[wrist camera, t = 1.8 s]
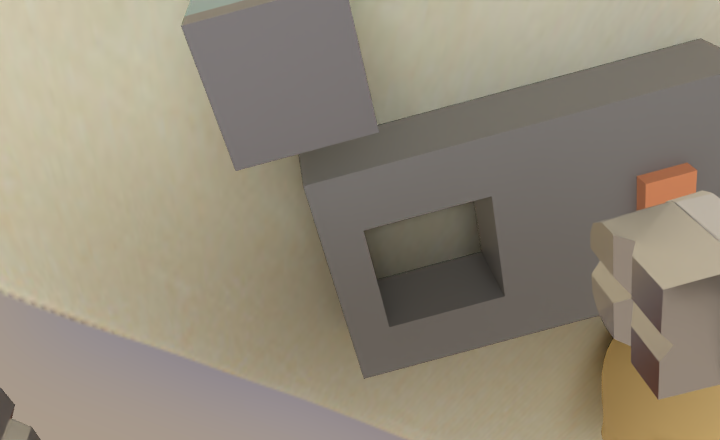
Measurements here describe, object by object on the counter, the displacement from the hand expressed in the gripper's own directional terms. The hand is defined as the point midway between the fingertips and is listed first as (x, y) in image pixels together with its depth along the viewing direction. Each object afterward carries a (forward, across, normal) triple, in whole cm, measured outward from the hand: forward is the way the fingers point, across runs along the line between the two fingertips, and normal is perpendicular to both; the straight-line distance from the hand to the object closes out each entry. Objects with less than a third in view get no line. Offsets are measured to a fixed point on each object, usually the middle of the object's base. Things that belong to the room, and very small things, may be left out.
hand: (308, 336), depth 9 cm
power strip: (+22, -9, +13) cm, 27 cm away
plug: (+22, 0, 0) cm, 22 cm away
